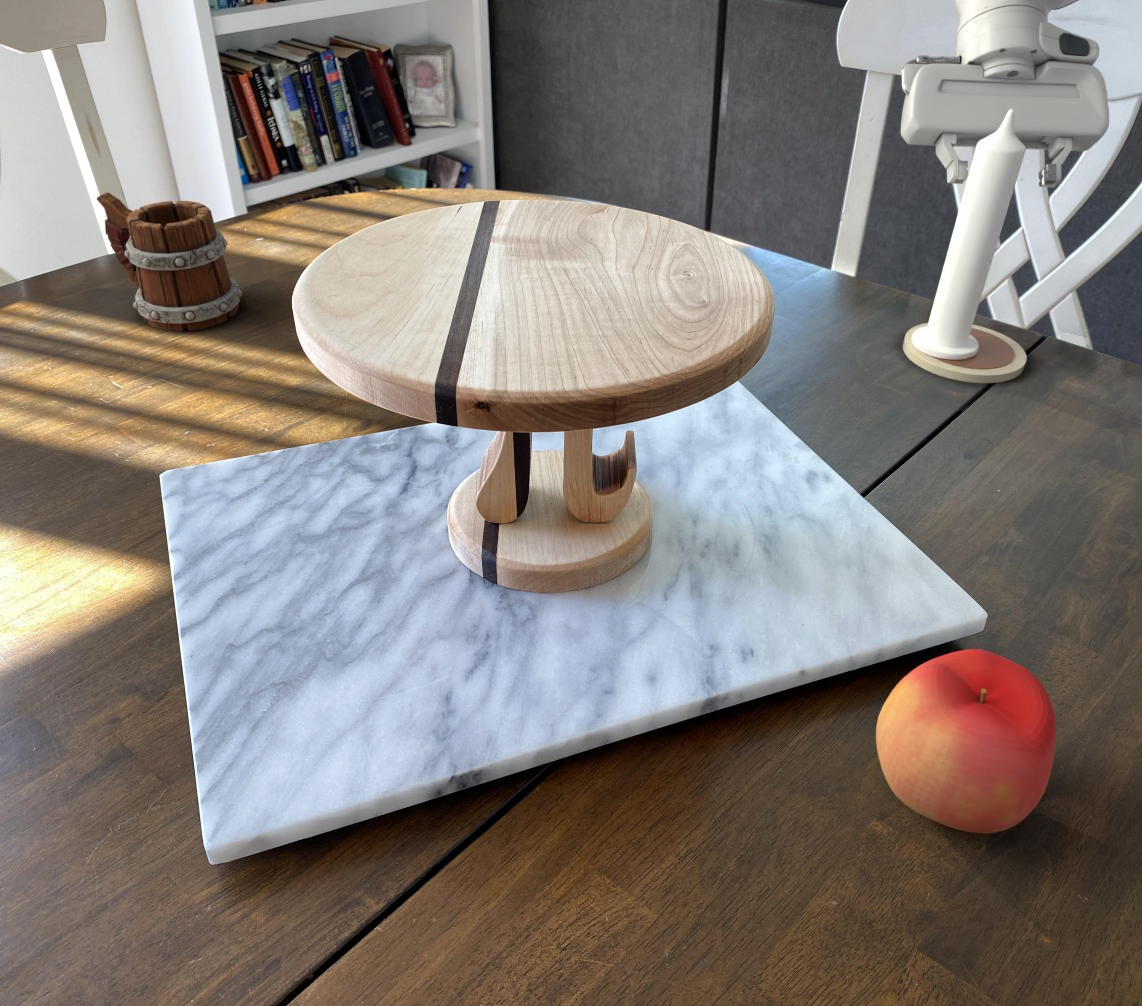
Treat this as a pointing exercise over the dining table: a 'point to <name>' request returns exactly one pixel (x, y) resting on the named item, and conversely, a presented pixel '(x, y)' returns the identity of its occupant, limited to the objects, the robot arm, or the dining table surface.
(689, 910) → the dining table surface
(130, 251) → the mug
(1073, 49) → the robot arm
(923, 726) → the apple
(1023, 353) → the coaster
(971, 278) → the candle
